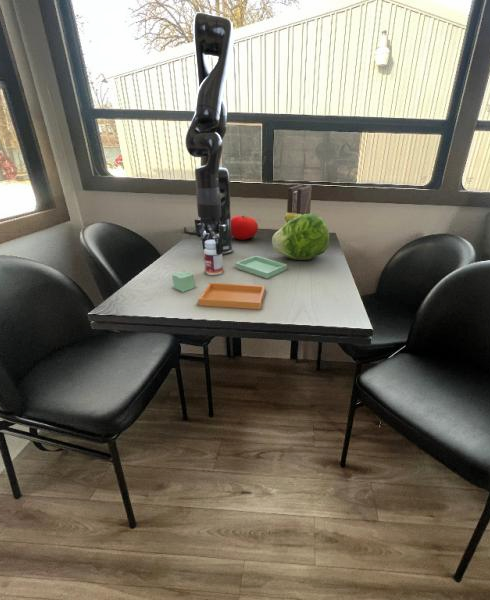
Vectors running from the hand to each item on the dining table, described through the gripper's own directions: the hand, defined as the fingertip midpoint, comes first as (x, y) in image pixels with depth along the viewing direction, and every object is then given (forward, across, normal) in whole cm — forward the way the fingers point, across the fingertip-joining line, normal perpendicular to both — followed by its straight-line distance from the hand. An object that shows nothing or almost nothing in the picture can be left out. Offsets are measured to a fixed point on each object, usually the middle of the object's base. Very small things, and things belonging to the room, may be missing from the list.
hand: (212, 251), depth 103 cm
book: (+8, +3, -57) cm, 58 cm away
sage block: (+8, -3, +15) cm, 17 cm away
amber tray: (+8, -20, +10) cm, 24 cm away
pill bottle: (+8, 0, 0) cm, 8 cm away
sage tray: (+8, -10, -14) cm, 19 cm away
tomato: (+8, +23, -39) cm, 46 cm away
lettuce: (+8, -14, -34) cm, 38 cm away
